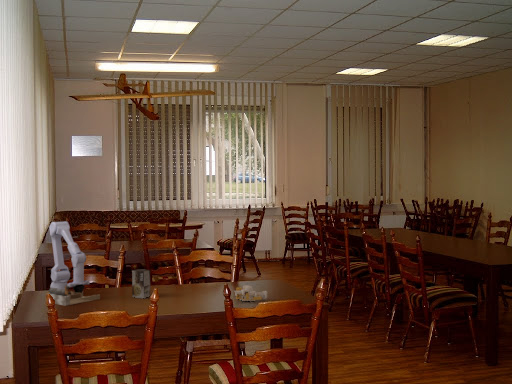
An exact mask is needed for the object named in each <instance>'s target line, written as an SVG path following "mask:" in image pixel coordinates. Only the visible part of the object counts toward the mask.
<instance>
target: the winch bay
mask: <svg viewBox="0 0 512 384" xmlns="http://www.w3.org/2000/svg"><path fill="white" fill-rule="evenodd" d="M70 288H71V287H69V286H65V290H64V289H57V288H49V289H48V292H47V293H46V295H47V294H50V295H51V296H52V297H53V299H54V300H55V305H59V306H64V307H66V306H70V305H75V304H80V303H87V302H92V301H98V300H101V294H93V295H87V296H84V291H82V298H76V299H71V300H70V296H69V295H67V294H68V292H69V290H70Z"/></svg>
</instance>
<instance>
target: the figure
mask: <svg viewBox="0 0 512 384" xmlns="http://www.w3.org/2000/svg"><path fill="white" fill-rule="evenodd" d="M235 289H236V290H233V292H234V293H235V294H234V295H235V299H239V302H240V300H242V301H250V302H251V301H252V300H253V301H255V302H256V301H257V300H260V301H261V300H266V299H267V298H268V291H267V290H262V291H259V292H258V291H256V290H254V289H253V286H252V285H248V284H246V285H243V286H242V287H241V286H240V287H235Z"/></svg>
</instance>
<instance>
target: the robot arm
mask: <svg viewBox="0 0 512 384" xmlns="http://www.w3.org/2000/svg"><path fill="white" fill-rule="evenodd" d="M48 229H49V234H50V237H51V244H52V251H53V252H52V253H53V260H54V261H53V262H54V266H53V267H52V268H51V269H50V273H51V274H50V278H51V284H50V286H49V287H50V288H57V289H64V290H65V286H69V287H70V288H72V289H73V292H78V293H82V292H84V289H85V287H86V285H90V280H85V274H84V273H85V271H84V270H85V263H86V261H87V256H86V254H85V252H83V251H81V249H80V247H79V245H78V242H75V241H74V239H73V236H72V234H71V232H70V230H71V228H70V224H69V221H52V222H51V223H50V224H49V228H48ZM62 238H63V239H64V240H65V242H66V243H67V249H68V252H69V254H70V256H71V259H70V260H71V264H72V267H73V273H72V275H73V277H72V278H73V281H72V282H69V280H70V278H71V272H70V270H69V267H68V266H67V265H66V264H65V260H64V259H65V258H64V252H63V246H62V245H63V243H62ZM68 282H69V283H68ZM50 288H49V289H50Z"/></svg>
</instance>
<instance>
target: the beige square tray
mask: <svg viewBox="0 0 512 384" xmlns="http://www.w3.org/2000/svg"><path fill="white" fill-rule="evenodd" d="M67 295H69V296H70V300H71V299H76V298H82V293H78V292H75V291H68V294H67Z"/></svg>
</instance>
